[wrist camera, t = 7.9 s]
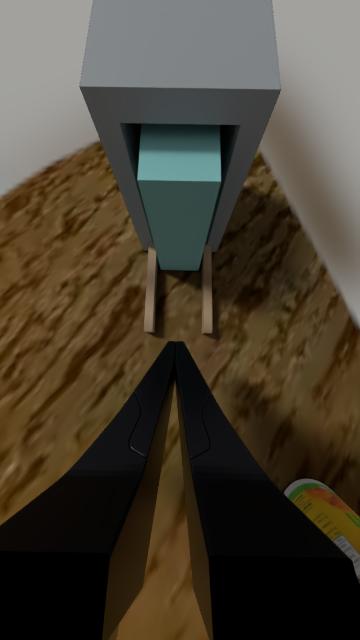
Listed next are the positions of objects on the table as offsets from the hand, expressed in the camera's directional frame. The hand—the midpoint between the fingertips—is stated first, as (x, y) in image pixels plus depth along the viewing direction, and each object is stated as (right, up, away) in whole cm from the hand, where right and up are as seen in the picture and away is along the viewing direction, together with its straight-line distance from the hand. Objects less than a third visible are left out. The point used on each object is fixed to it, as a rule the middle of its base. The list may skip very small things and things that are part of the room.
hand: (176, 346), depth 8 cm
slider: (0, +11, +8) cm, 14 cm away
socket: (0, +14, +9) cm, 17 cm away
